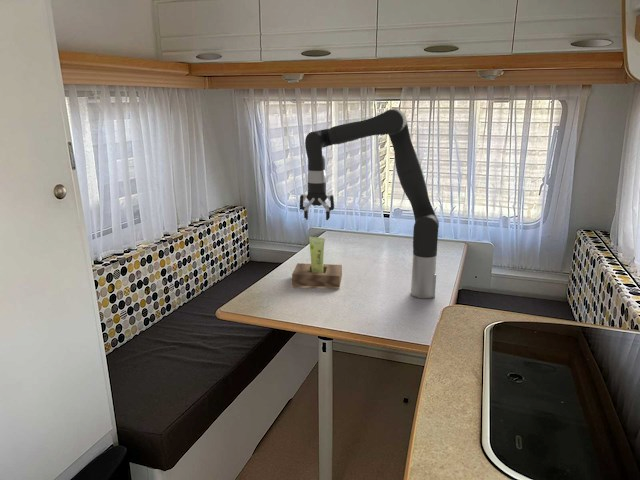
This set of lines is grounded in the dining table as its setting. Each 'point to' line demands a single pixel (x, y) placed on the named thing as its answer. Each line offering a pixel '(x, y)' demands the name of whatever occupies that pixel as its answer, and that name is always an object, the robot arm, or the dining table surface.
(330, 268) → the slotted block
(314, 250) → the tube
